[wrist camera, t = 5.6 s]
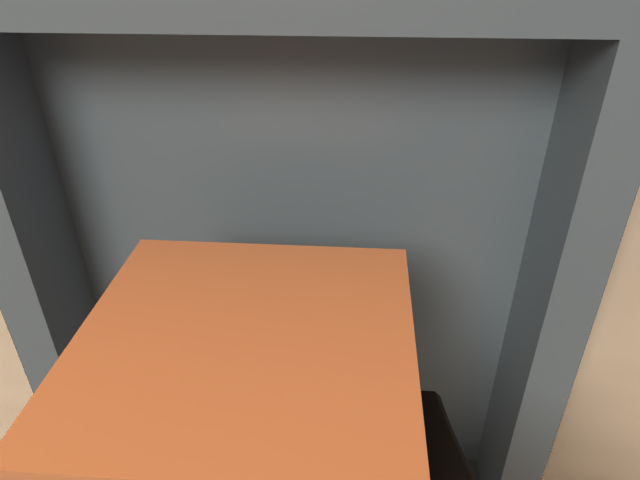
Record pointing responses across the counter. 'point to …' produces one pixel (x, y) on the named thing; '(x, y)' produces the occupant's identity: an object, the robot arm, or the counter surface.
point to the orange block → (234, 371)
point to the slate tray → (336, 170)
